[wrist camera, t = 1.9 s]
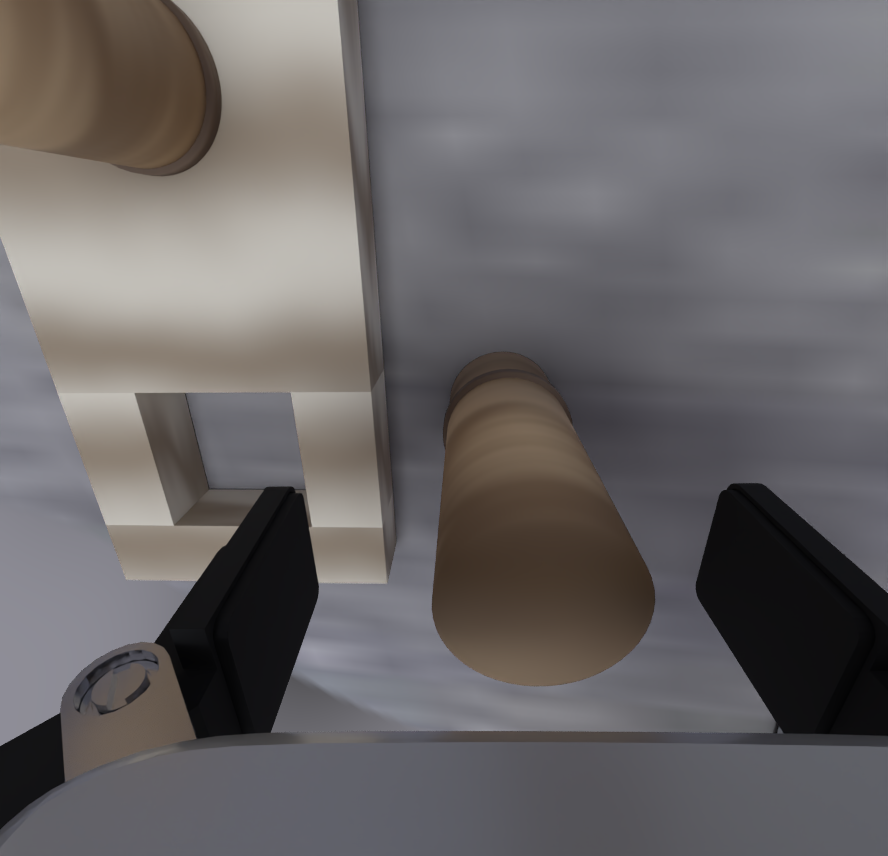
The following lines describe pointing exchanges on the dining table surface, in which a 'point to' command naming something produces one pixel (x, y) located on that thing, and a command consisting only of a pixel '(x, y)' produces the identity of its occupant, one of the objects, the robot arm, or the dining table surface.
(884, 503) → the dining table surface
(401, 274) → the dining table surface
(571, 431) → the oak peg
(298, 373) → the board
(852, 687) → the robot arm
